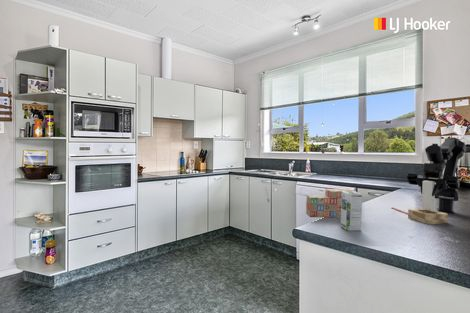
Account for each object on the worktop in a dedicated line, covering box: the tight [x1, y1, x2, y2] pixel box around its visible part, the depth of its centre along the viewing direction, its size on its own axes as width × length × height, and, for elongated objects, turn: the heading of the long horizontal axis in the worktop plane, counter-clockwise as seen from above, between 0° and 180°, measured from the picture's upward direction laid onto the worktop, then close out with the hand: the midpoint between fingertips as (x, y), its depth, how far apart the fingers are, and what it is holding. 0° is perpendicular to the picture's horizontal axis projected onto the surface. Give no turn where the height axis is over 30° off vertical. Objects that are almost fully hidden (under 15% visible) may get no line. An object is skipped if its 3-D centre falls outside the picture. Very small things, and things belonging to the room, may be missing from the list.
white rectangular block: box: [421, 181, 436, 210], centre depth 114 cm, size 4×4×12 cm
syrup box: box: [340, 190, 363, 232], centre depth 102 cm, size 6×6×14 cm
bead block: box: [407, 208, 449, 225], centre depth 115 cm, size 10×10×4 cm
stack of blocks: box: [305, 188, 357, 219], centre depth 120 cm, size 21×6×12 cm, turn 91°
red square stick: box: [391, 207, 408, 215], centre depth 130 cm, size 14×1×1 cm, turn 1°
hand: (427, 194), depth 114 cm, fingers closed on white rectangular block, 3 cm apart
